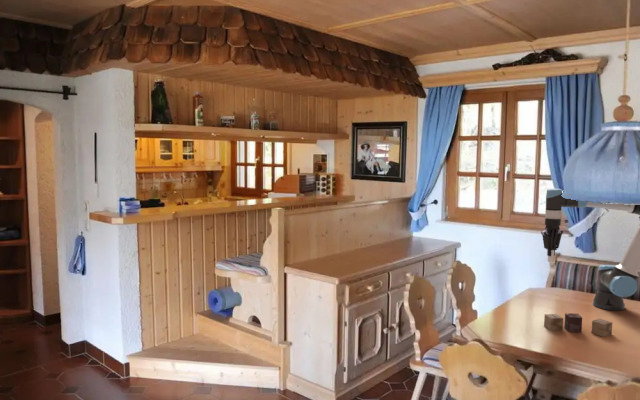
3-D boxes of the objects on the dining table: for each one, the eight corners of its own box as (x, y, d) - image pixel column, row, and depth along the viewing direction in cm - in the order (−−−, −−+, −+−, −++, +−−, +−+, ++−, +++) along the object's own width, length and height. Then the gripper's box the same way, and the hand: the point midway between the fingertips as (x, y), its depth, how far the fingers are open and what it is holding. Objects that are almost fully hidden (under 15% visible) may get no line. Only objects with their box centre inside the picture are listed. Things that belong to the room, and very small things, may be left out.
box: (581, 332, 232) (582, 317, 232) (568, 331, 233) (569, 316, 233) (577, 328, 238) (578, 313, 237) (564, 327, 239) (564, 312, 238)
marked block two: (555, 325, 241) (556, 313, 241) (562, 330, 235) (563, 317, 235) (544, 326, 241) (544, 313, 240) (550, 330, 235) (551, 318, 234)
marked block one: (599, 330, 235) (599, 318, 235) (611, 334, 230) (612, 322, 229) (591, 332, 232) (592, 320, 232) (603, 337, 227) (604, 324, 226)
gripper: (557, 216, 265) (554, 259, 268) (537, 217, 261) (535, 261, 263) (568, 218, 258) (565, 262, 260) (548, 219, 254) (546, 264, 256)
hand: (550, 261), depth 262 cm, fingers closed
